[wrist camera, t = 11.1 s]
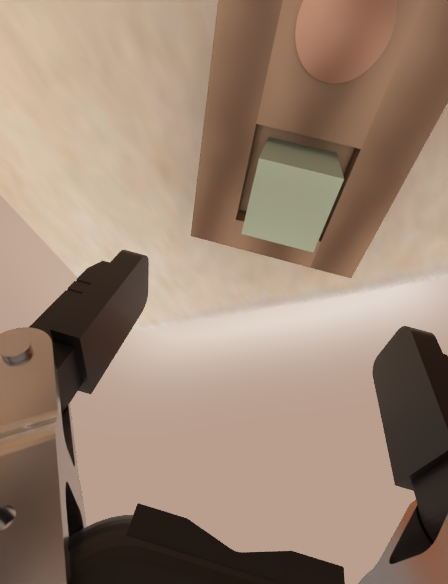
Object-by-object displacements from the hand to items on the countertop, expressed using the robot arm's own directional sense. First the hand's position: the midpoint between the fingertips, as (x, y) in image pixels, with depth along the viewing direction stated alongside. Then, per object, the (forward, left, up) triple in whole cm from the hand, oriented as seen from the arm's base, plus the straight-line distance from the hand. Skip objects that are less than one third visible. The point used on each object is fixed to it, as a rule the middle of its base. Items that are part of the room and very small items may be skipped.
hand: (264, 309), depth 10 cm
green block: (+1, -1, -17) cm, 17 cm away
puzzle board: (+1, +3, -18) cm, 19 cm away
